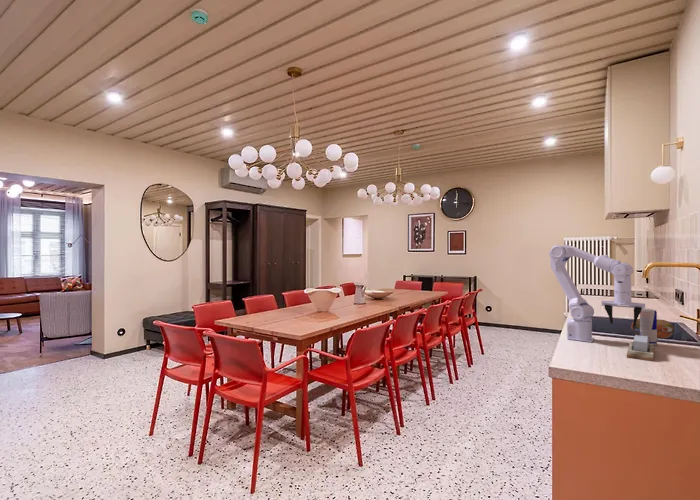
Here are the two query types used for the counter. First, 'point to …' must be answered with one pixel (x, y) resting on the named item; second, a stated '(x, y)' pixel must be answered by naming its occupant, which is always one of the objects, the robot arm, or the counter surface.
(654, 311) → the beverage can
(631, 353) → the framed wooden panel
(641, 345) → the grey box
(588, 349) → the counter surface
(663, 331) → the tin
